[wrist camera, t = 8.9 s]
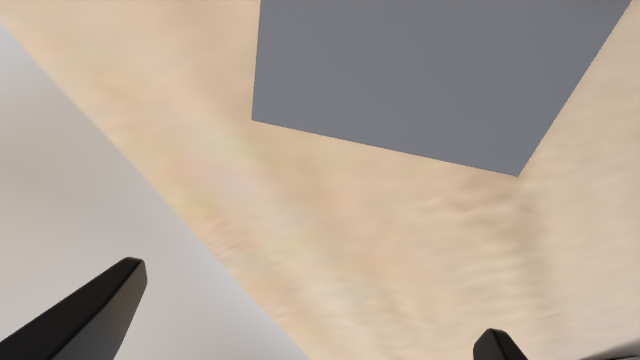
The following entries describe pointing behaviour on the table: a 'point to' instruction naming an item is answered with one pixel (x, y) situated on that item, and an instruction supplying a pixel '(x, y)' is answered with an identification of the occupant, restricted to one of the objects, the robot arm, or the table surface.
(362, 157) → the table surface
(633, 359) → the coffee box
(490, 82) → the rubber mat
